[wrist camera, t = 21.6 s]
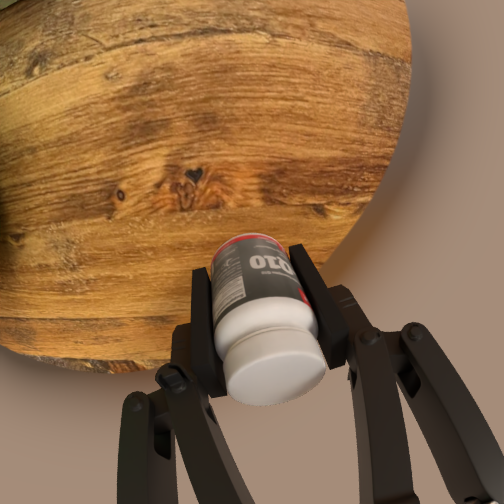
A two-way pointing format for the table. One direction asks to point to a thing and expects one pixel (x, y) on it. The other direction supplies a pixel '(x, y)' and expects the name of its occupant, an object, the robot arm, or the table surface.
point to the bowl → (6, 3)
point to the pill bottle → (263, 323)
